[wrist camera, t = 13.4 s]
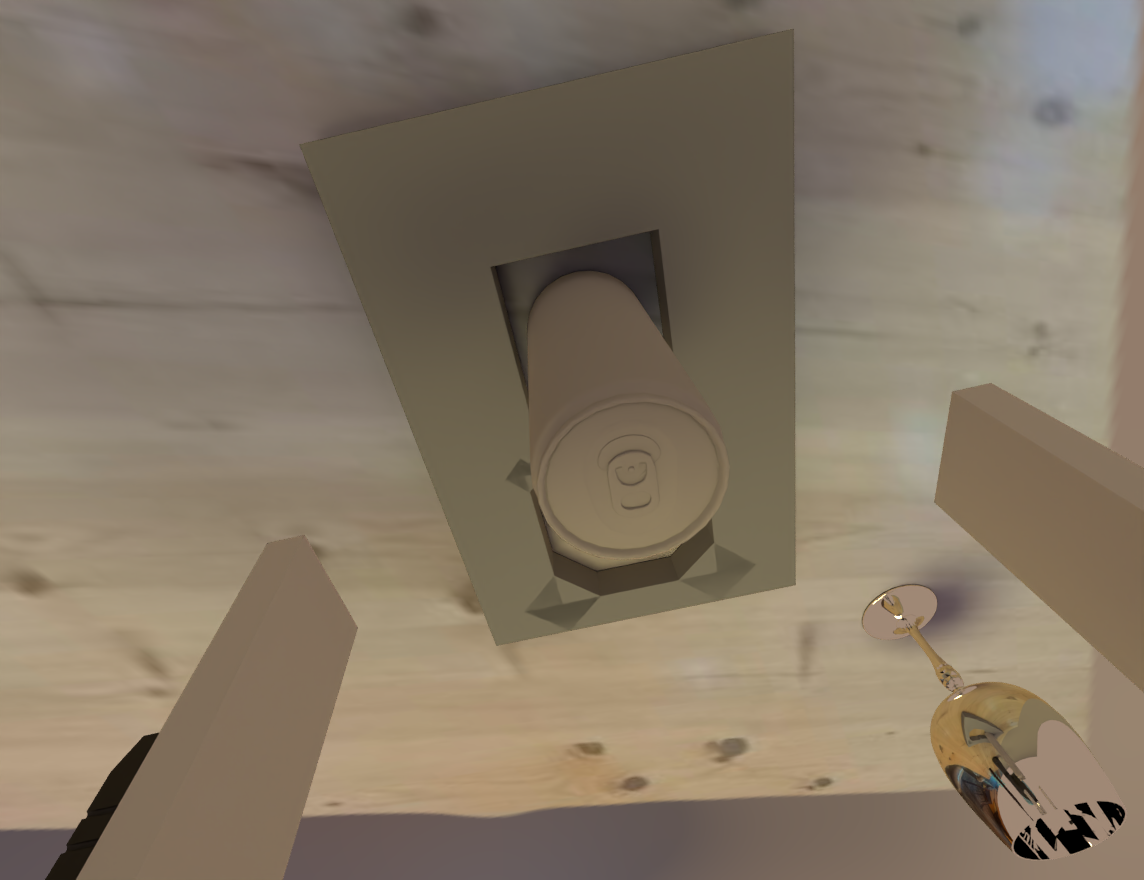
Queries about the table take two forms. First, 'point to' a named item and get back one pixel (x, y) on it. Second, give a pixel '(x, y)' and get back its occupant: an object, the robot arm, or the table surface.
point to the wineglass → (1007, 749)
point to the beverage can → (616, 424)
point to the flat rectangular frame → (569, 220)
